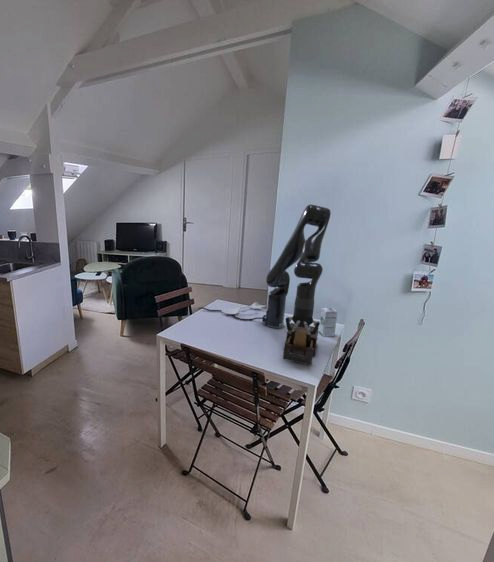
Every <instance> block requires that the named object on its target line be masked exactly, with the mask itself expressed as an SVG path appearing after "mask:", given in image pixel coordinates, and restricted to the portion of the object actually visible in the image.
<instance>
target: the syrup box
mask: <svg viewBox="0 0 494 562" xmlns="http://www.w3.org/2000/svg"><path fill="white" fill-rule="evenodd" d="M320 312H321V313H320V320H319V322H320V325H319V329H318V333H320V334H321V335H322V336H323V337H335V334H336V325H337V319H338V311H337V310H336V309H335V308H333V307H321V311H320Z"/></svg>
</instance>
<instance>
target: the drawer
mask: <svg viewBox="0 0 494 562" xmlns="http://www.w3.org/2000/svg"><path fill="white" fill-rule="evenodd" d="M313 340H314V339H310V341H308V342H306V347H304V346H299V345H294V340H293V339H292V338H291V335H290V336H289V339H288V341H287V343H286V342H285V343H284V346H283V348H284V349H283V354H282V355H283V356H282V357H283V358H282V359H283V360H287V361H291V362H296V363H300V364H305V365H309V366H312V364H313V357H314V356H313V349H314V348H313Z"/></svg>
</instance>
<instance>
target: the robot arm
mask: <svg viewBox="0 0 494 562" xmlns="http://www.w3.org/2000/svg"><path fill="white" fill-rule="evenodd" d="M331 213H332V212H331V209H330V208H328V207H325V206H321V205H317V204H307V205H306V207H304V209H303V211H302V213H301V215H300V217H299V220H298V221H297V224H296V226H295V228H294V230H293V232H292V234H291V235H290V237H289V238H288V240H287V242H286V244H285V246H284V248H283V249H282V252H281V254H280V255H279V257H278V259H277V260H276V262H274V264H273V266H272V267H271V269H270V270H269V272H268V273H267V275H266V278H265V279H266V280H265V281H266V285H267V286H268V287H271V288H273V289H272V290H270V291H269V292H268V294H267V295H268V296H267V297H268V298H267V306H266V307H267V308H266V311H265V314H263V315H262V317H259V316H258V317H253V318H241V317H238V316H236V315H235V314H232V315H231V316H232V317H233V318H234V319H236V320H240V321H255V320H262V321H261V322H262V323H265V324H264V326H266V327H269V328H273V329H281V328H283V327H284V325H285V324H286V325H285V326H286V331H288V330H290V331H291V338H292V339H293V340H294V336H295V329H296V328H297V326H298V327H303V328H306V331H307V339H306V342H308V341H310V337H311V335H312V334H313V335H315V334H316V331H317V329H318V327H319V328H320V320H319V321H317V320H314V307H315V295H316V288H317V285H318V283H319V280H320V278H321V276H322V274H323V270H324V269H323V268H324V267H323V266H322V265H321V263H319V262H318V261H319V259H320V256H321V250H322V244H323V240H324V238H325V234H326V231H327V228H328V225H329V223H330V219H331ZM306 225H309V226H313V227H317V228H316V229H317V230H316V231H315V232H313V234H311V235H310V236H308V237H307V238H306V237H305V228H306ZM295 263H296V264H295ZM294 264H295V267H294V269H293V274H294V276H295V277H296V278H299V279H308V280H309V279H311V280H310V281H306V282H299V283H298V284H297V286H296V294H295V299H294V307H293V315H292V316H286V317H285V313H286V312H285V311H286V304H287V303H286V302H287V296H288V294H289V289H290V282H291V276H290V274H289V272H288V271H286V270H288V269H289V268H290V267H292V266H293V265H294ZM201 309H203V310H206V311H209V312H222V310H223V309H209V308H207V307H203V306H201V307H198V308H197V310H201ZM222 313H223V312H222ZM284 321H285V322H284ZM292 321H293V322H292ZM290 323H295V325H294V326H293V328H292V327H291V326H290ZM312 324H313V327H314V329H313V331H311V330H310V326H311V325H312ZM318 330H319V329H318Z"/></svg>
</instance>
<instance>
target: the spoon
mask: <svg viewBox="0 0 494 562" xmlns="http://www.w3.org/2000/svg"><path fill="white" fill-rule="evenodd" d="M265 307H267V305H263V304H260V303H259V302H258V301H255V302H253V304H251V305H242V306H240V307H236V308H226V309H221V310H222V313H223V314H225V315H230V316H232V314H233V315H237V314H238V313H239V312H240V310H241V309H246V308H249V309H253V310H259V309H261V308H262V309H263V308H265Z"/></svg>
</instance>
